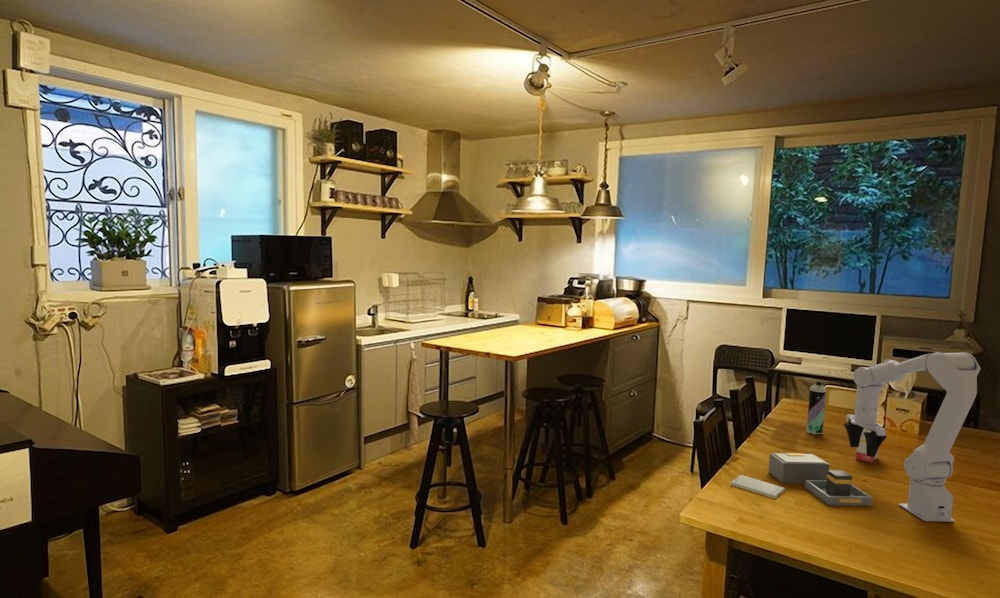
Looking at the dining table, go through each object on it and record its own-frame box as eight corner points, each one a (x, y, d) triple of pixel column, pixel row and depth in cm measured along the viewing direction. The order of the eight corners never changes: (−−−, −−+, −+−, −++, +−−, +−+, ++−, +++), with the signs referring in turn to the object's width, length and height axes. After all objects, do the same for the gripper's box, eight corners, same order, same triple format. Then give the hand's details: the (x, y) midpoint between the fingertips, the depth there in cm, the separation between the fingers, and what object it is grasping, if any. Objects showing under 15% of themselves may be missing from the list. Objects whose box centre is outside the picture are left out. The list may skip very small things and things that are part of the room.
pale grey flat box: (828, 483, 171) (829, 462, 170) (782, 482, 170) (783, 461, 170) (812, 472, 179) (813, 452, 178) (768, 472, 178) (769, 451, 178)
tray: (871, 506, 156) (872, 497, 156) (828, 505, 156) (828, 496, 156) (845, 488, 168) (846, 480, 167) (804, 488, 167) (805, 480, 167)
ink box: (871, 463, 189) (875, 428, 188) (854, 459, 192) (857, 425, 191) (878, 457, 195) (881, 423, 194) (861, 453, 198) (865, 420, 197)
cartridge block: (850, 498, 160) (852, 476, 159) (834, 498, 160) (836, 475, 159) (841, 492, 164) (843, 470, 163) (825, 492, 164) (827, 470, 163)
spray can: (803, 430, 222) (807, 380, 221) (814, 429, 224) (818, 379, 222) (814, 435, 217) (819, 383, 215) (826, 434, 219) (830, 382, 217)
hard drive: (730, 481, 167) (775, 495, 159) (741, 474, 173) (785, 486, 165) (730, 487, 167) (775, 501, 159) (741, 479, 173) (785, 492, 165)
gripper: (838, 400, 178) (834, 442, 179) (870, 413, 164) (865, 460, 165) (860, 400, 178) (856, 443, 180) (894, 414, 164) (889, 460, 165)
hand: (862, 451), depth 172 cm, fingers open, 7 cm apart
